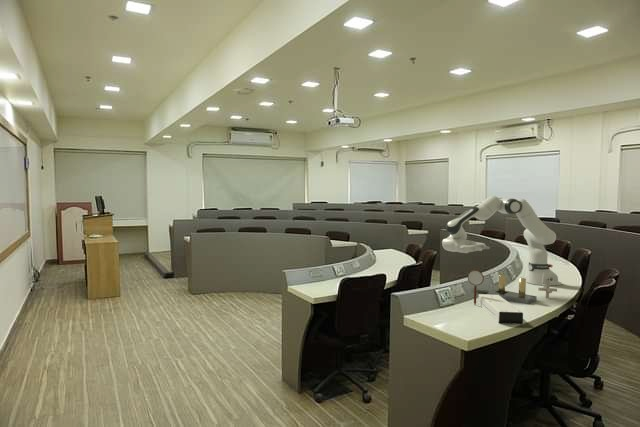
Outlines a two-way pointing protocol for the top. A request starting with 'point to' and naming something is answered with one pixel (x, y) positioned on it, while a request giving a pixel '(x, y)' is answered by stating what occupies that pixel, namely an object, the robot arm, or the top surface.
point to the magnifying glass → (475, 280)
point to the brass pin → (502, 284)
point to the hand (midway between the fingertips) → (485, 248)
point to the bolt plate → (516, 294)
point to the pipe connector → (547, 289)
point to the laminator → (500, 309)
